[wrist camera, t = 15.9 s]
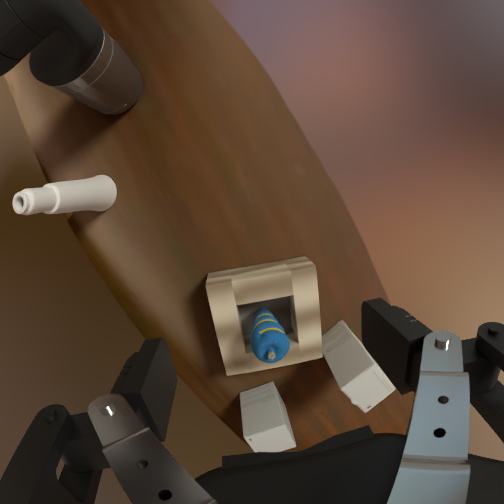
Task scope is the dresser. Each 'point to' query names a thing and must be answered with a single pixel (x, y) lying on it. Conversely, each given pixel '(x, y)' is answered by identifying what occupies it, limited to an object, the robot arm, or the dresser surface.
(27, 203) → the cosmetic bottle
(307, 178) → the dresser surface
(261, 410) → the supplement box
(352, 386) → the skincare box
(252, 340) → the ornament
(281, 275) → the socket block
